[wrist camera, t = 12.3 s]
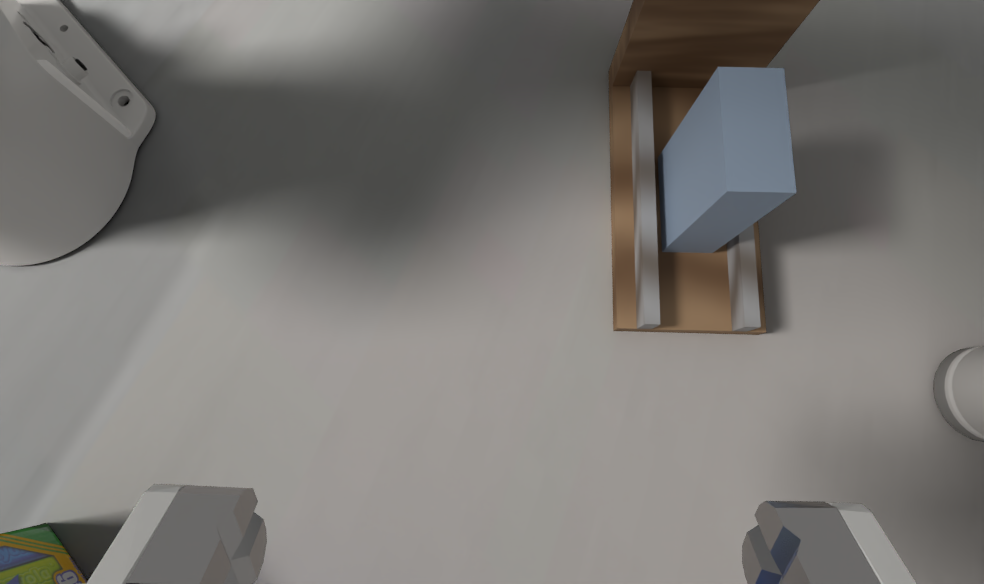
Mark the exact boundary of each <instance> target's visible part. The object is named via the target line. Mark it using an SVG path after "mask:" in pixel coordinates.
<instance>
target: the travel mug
mask: <svg viewBox="0 0 984 584" xmlns="http://www.w3.org/2000/svg"><path fill="white" fill-rule="evenodd" d="M933 389H934V396H935V400H936V403H937V406H938V408H939V410H940V412H941V414H942V415H943V417H944V418H945V419H946V421H947V422H948V423H949V424H950V425H951V426H952V427H953V428H954V429H955V430H957V431H958V432H960V433H961V434H963V435H964V436H966V437H969V438H971V439H973V440H978V441H982V442H984V346H979V347H972V348H966V349H960V350H958V351H956V352H953V353H952V354H950V355H949V356H947V357H946V358H945V359H944V360H943V362H942V363H941V364H940V366H939V368H938V369H937V371H936V375H935V378H934V388H933Z"/></svg>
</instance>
